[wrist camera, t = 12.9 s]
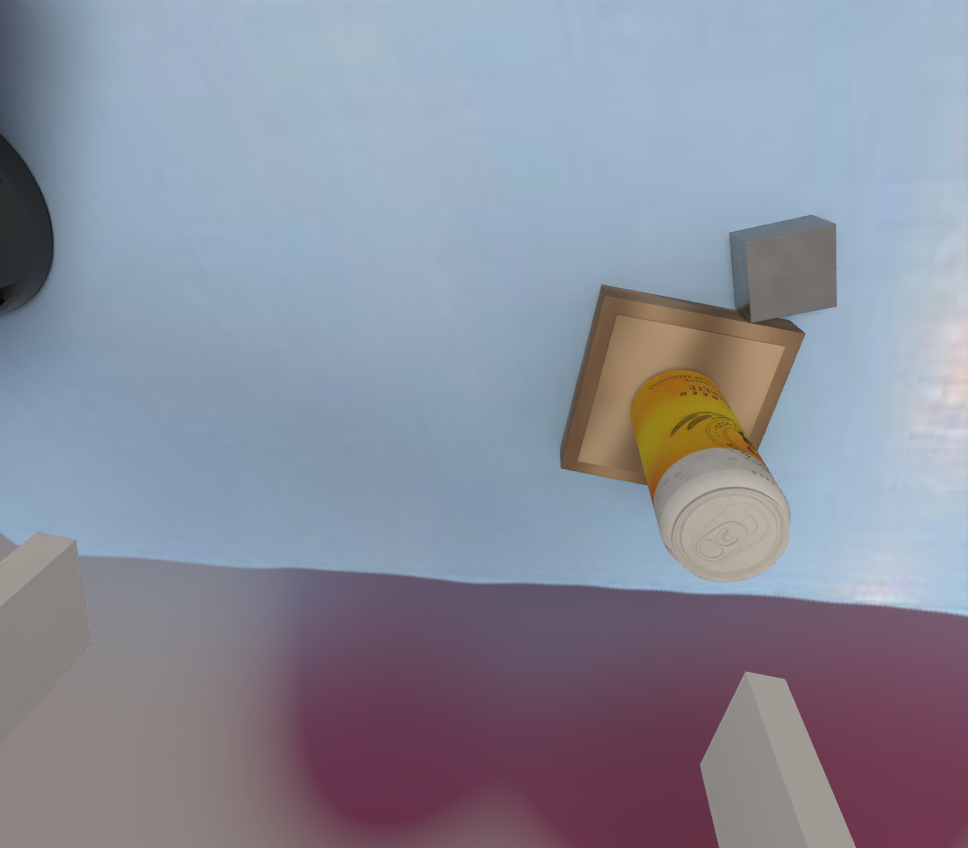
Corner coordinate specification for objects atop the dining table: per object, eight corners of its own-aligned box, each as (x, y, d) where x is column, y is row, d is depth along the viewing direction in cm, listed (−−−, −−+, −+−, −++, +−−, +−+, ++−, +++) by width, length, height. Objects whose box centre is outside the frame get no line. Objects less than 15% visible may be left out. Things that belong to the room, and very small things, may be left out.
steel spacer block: (734, 306, 43) (751, 322, 40) (729, 232, 41) (746, 243, 38) (812, 290, 43) (836, 306, 39) (810, 214, 41) (835, 223, 37)
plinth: (560, 449, 49) (560, 470, 46) (601, 284, 44) (605, 296, 41) (726, 481, 49) (737, 504, 46) (789, 320, 43) (806, 334, 40)
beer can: (740, 405, 43) (826, 537, 29) (670, 462, 45) (721, 608, 32) (678, 347, 42) (739, 457, 28) (610, 408, 44) (636, 537, 30)
